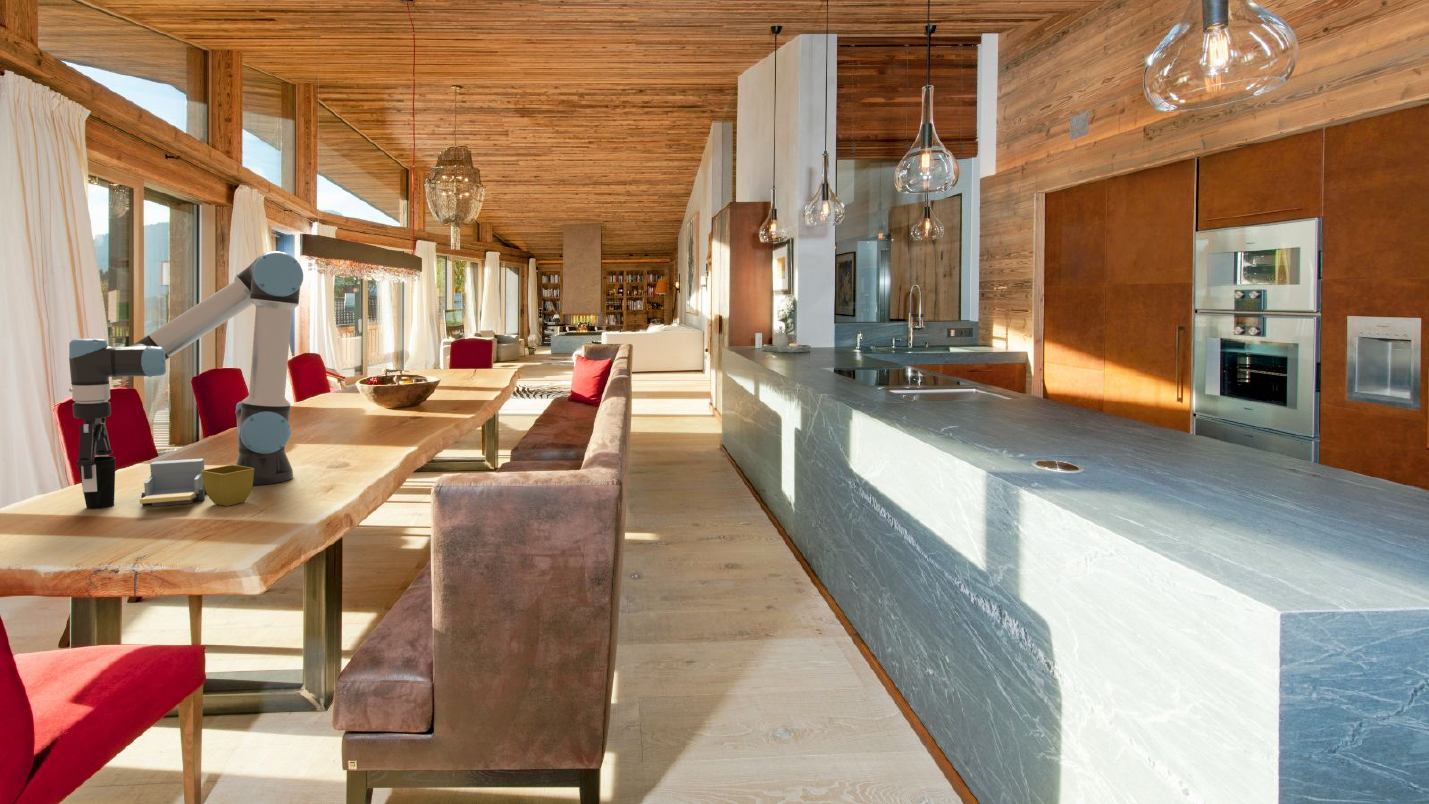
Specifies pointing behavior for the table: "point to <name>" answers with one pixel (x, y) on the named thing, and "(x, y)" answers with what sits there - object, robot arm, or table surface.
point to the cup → (102, 484)
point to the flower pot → (228, 484)
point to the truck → (175, 480)
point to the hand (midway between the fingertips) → (97, 485)
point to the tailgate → (168, 497)
